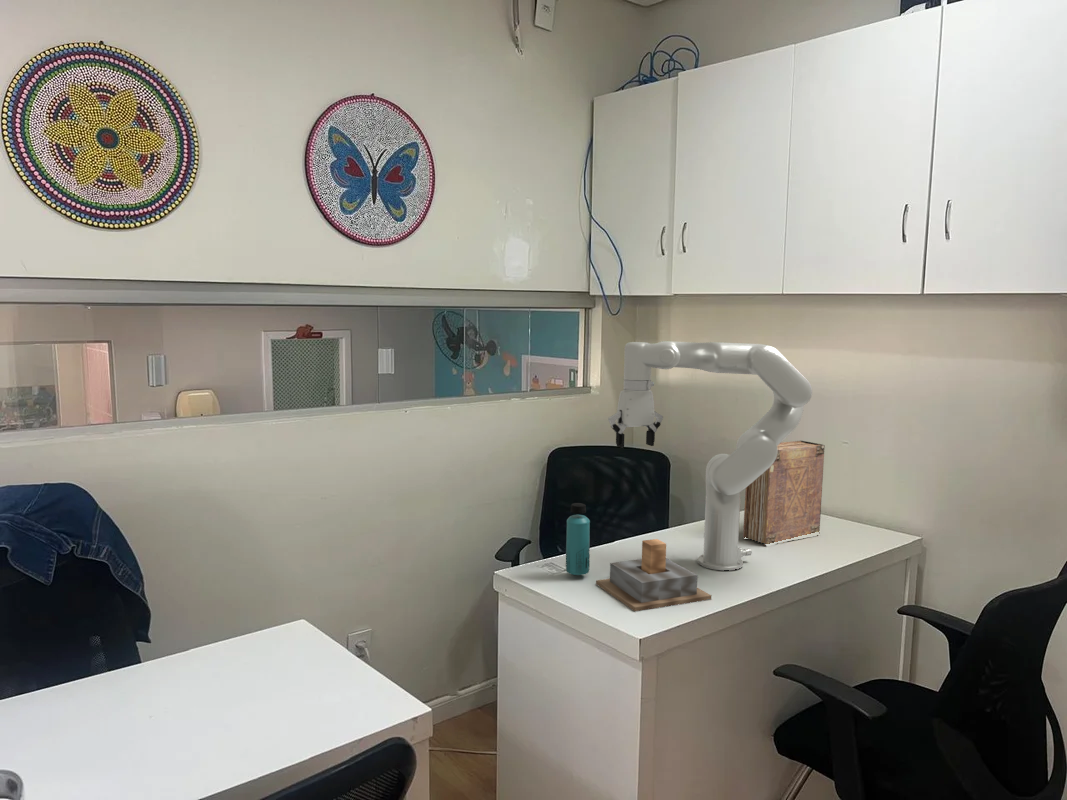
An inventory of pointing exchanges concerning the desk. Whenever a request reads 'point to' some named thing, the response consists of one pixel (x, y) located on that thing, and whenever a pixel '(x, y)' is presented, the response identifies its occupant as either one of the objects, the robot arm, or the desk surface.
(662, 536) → the desk surface
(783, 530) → the book
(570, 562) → the beverage bottle
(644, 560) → the peg
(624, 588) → the socket board
